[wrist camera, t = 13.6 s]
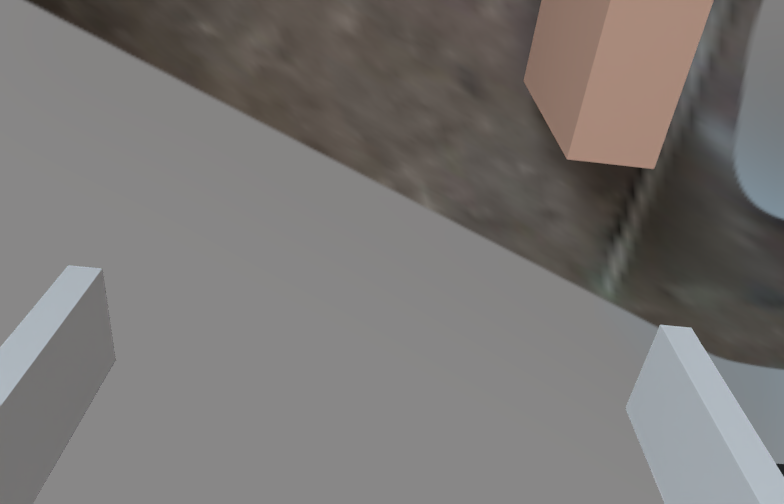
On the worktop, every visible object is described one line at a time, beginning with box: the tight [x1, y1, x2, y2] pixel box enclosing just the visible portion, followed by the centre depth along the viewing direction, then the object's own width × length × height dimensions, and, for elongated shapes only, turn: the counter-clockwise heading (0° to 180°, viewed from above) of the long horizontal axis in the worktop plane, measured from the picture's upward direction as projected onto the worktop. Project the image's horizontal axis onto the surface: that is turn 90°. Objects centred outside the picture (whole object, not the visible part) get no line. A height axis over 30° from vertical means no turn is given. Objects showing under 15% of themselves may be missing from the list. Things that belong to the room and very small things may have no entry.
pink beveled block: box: [524, 0, 714, 169], centre depth 32 cm, size 4×8×12 cm, turn 174°
